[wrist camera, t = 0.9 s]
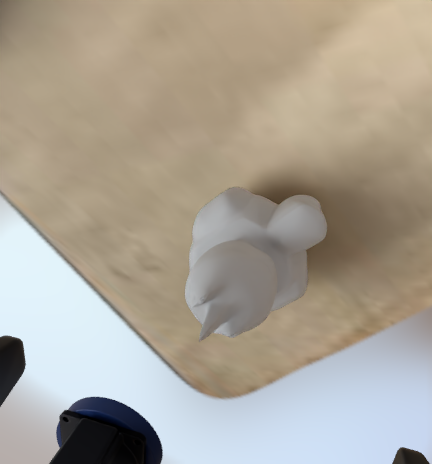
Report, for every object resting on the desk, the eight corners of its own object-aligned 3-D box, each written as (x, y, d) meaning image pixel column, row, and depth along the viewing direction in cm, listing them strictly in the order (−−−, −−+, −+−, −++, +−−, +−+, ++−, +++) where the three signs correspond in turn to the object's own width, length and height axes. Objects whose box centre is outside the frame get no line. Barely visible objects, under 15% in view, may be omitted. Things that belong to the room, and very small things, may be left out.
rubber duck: (178, 221, 20) (90, 309, 12) (286, 137, 17) (252, 190, 10) (245, 302, 20) (199, 429, 13) (360, 236, 18) (379, 352, 10)
